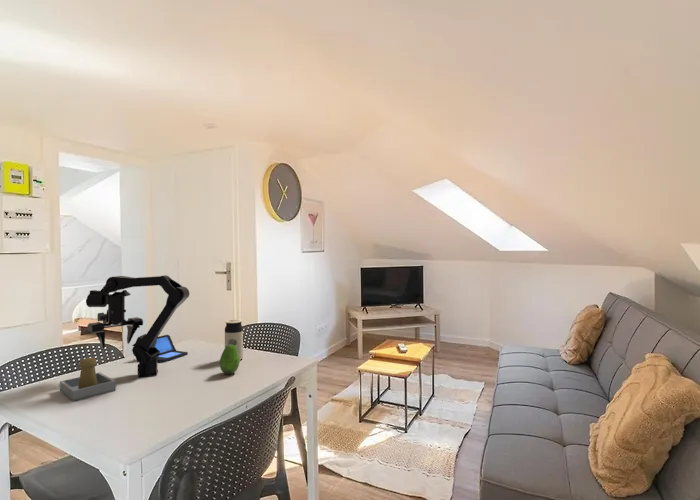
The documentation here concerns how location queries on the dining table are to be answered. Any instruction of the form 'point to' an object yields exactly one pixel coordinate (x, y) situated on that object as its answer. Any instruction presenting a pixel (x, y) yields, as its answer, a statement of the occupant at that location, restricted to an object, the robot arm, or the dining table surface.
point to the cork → (87, 373)
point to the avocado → (229, 359)
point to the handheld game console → (167, 349)
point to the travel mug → (234, 335)
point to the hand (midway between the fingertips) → (116, 345)
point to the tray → (76, 394)
